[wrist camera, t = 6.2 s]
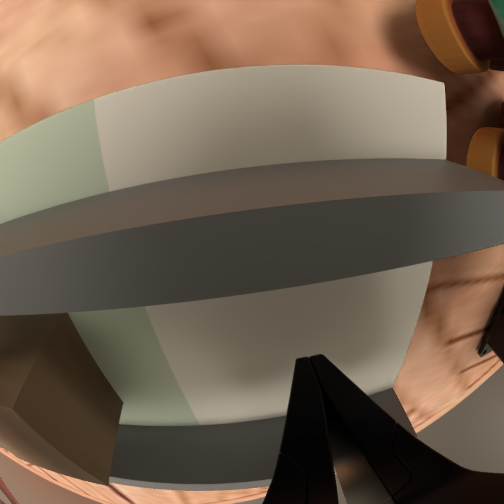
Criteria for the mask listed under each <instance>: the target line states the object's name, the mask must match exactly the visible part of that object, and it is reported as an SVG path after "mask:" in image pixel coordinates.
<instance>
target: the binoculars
mask: <svg viewBox="0 0 504 504" xmlns="http://www.w3.org/2000/svg"><path fill="white" fill-rule="evenodd" d="M415 12H416V18H417V23H418V25H419V28H420V31H421V33H422V35H423V37H424V39H425V41H426V43H427V45H428V46H429V48H430V49H431V51H432V52H433V54H434V55H435V56H436V58H437V59H438V60H439V61H440V62H441V63H442V64H443V65H444V66H445V67H446V68H447V69H449V70H450V71H452V72H454V73H456V74H468V73H480V72H485V71H487V69H488V68H490V69H491V70H499V71H504V0H418V1H417V2H416V6H415ZM502 118H503V126H504V102H502ZM466 166H467V167H469V168H472V169H475V170H478V171H480V172H483V173H485V174H488V175H490V176H493V177H495V178H498V179H500V180H503V181H504V129H502V128H495V127H481V128H480V129H478V130H477V131H476V132H475V133H474V135H473V137H472V139H471V142H470V145H469V148H468V153H467V161H466Z"/></svg>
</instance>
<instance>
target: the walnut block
mask: <svg viewBox="0 0 504 504" xmlns="http://www.w3.org/2000/svg"><path fill="white" fill-rule="evenodd" d="M122 407H123V401H122V400H121V398H120V397H119V396H118V394H117V393H116V392H115V390H114V389H113V387H112V386H111V384H110V383H109V382H108V380H107V379H106V377H105V376H104V374H103V373H102V371H101V370H100V368H99V366H98V365H97V363H96V362H95V360H94V359H93V357H92V355H91V354H90V352H89V350H88V349H87V347H86V345H85V344H84V342H83V340H82V338H81V337H80V335H79V333H78V331H77V329H76V328H75V326H74V324H73V322H72V320H71V318H70V316H69V314H68V313H53V314H34V315H7V316H0V444H1V445H2V446H3V447H5V448H6V449H7V450H8V451H10V452H11V453H12V454H13V455H15V456H16V457H17V458H19V459H22V460H24V461H26V462H29V463H31V464H34V465H37V466H39V467H42V468H45V469H48V470H51V471H54V472H57V473H60V474H63V475H66V476H70V477H73V478H77V479H81V480H84V481H88V482H93V483H97V484H102V485H106V486H108V484H109V477H110V470H111V464H112V458H113V452H114V446H115V441H116V436H117V431H118V426H119V421H120V416H121V411H122Z"/></svg>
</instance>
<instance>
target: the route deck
mask: <svg viewBox="0 0 504 504" xmlns="http://www.w3.org/2000/svg"><path fill="white" fill-rule="evenodd" d="M446 146H447V124H446V100H445V87H444V83H442V82H438V81H434V80H430V79H426V78H421V77H417V76H412V75H407V74H401V73H396V72H389V71H383V70H375V69H367V68H358V67H347V66H333V65H304V64H292V65H262V66H248V67H236V68H227V69H219V70H211V71H204V72H198V73H192V74H186V75H181V76H176V77H171V78H166V79H162V80H157V81H153V82H149V83H145V84H141V85H137V86H134V87H130V88H126V89H123V90H120V91H116V92H113V93H110V94H107V95H104V96H101V97H98V98H95V99H92V100H89V101H87V102H84V103H81V104H79V105H76V106H74V107H71V108H69V109H66V110H64V111H61V112H59V113H57V114H54V115H52V116H50V117H48V118H46V119H43V120H41V121H39V122H37V123H35V124H33V125H31V126H29V127H27V128H25V129H23V130H21V131H19V132H18V133H16V134H14V135H12V136H10V137H9V138H7V139H5V140H3V141H2V142H0V316H7V315H34V314H53V313H68V314H69V316H70V318H71V320H72V322H73V324H74V326H75V328H76V329H77V331H78V333H79V335H80V337H81V338H82V340H83V342H84V344H85V345H86V347H87V349H88V350H89V352H90V354H91V355H92V357H93V359H94V360H95V362H96V363H97V365H98V366H99V368H100V370H101V371H102V373H103V374H104V376H105V377H106V379H107V380H108V382H109V383H110V384H111V386H112V387H113V389H114V390H115V392H116V393H117V394H118V396H119V397H120V398H121V400H122V401H123V407H122V411H121V416H120V421H119V426H118V431H117V436H116V441H115V446H114V452H113V458H112V464H111V470H110V477H109V482H110V483H116V484H122V485H128V486H135V487H144V488H153V489H165V490H186V491H215V490H235V489H248V488H257V487H266V486H270V483H271V481H272V477H273V473H274V470H275V466H276V462H277V457H278V454H279V449H280V444H281V439H282V434H283V429H284V424H285V419H286V413H287V408H288V402H289V397H290V391H291V385H292V379H293V373H294V366H295V360H296V359H297V358H301V357H306V356H307V357H310V356H312V355H317V354H323V355H324V356H325V357H327V358H328V359H329V360H330V361H331V362H332V363H333V364H334V365H335V366H336V367H337V368H338V369H339V370H341V371H342V372H343V373H344V374H345V375H346V376H347V377H348V378H349V379H350V380H351V381H352V382H354V383H355V384H356V385H357V386H358V387H359V388H360V389H361V390H362V391H363V392H365V393H366V394H367V395H368V396H369V397H370V398H371V399H372V400H373V401H375V402H376V403H377V404H378V405H379V406H380V407H381V408H382V409H383V410H385V411H386V412H387V413H388V414H389V415H390V416H391V417H392V418H394V419H395V420H396V423H397V422H398V423H399V424H400V425H402V426H403V427H404V428H405V429H406V430H407V431H409V432H410V433H411V434H412V435H413V436H415V437H417V435H416V433H415V431H414V429H413V427H412V425H411V423H410V421H409V419H408V417H407V415H406V413H405V411H404V409H403V407H402V405H401V403H400V401H399V399H398V397H397V395H396V393H395V391H394V389H393V386H394V383H395V381H396V379H397V376H398V374H399V371H400V369H401V366H402V364H403V361H404V359H405V356H406V353H407V351H408V348H409V345H410V342H411V339H412V337H413V334H414V331H415V327H416V324H417V321H418V318H419V315H420V311H421V308H422V304H423V301H424V297H425V294H426V290H427V286H428V282H429V278H430V273H431V269H432V264H433V261H434V260H439V259H443V258H448V257H452V256H456V255H461V254H465V253H469V252H473V251H477V250H481V249H485V248H489V247H493V246H497V245H501V244H504V181H503V180H500V179H498V178H495V177H493V176H490V175H488V174H485V173H483V172H480V171H478V170H475V169H472V168H469V167H467V166H464V165H461V164H458V163H455V162H452V161H449V160H446ZM0 447H1V448H4V449H6V448H5V447H3V446H2V445H1V444H0ZM6 450H7V449H6ZM334 472H335V473H336V470H335V467H334Z"/></svg>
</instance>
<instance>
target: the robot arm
mask: <svg viewBox="0 0 504 504" xmlns="http://www.w3.org/2000/svg"><path fill="white" fill-rule="evenodd" d="M492 350H493V351H494V353H495V354H496V355H497V356H498V358H499V359H500V360H501V361H502V363H503V364H504V295H503V298H502V300H501V303H500V305H499V308H498V310H497V312H496V315H495V317H494V319H493V321H492V324H491V326H490V328H489V330H488V332H487V334H486V336H485V338H484V340H483V342H482V344H481V346H480V348H479V350H478V355H479V356H480V357H482V356H484V355H486V354H487V353H489V352H491V351H492ZM334 467H335V470H336V473H337V476H338V479H339V482H340V484H341V487H342V490H343V493H344V496H345V499H346V502H347V504H504V473H489V472H479V471H473V470H469V469H466V468H463V467H461V466H459V465H458V464H456V463H454V462H452V461H451V460H449V459H448V458H446V457H444V456H443V455H441V454H439V453H438V452H436V451H435V450H433V449H432V448H430V447H429V446H427V445H425V444H424V443H423V442H421V441H420V440H419V439H417V438H416V437H415V436H413V435H412V434H411V433H410V432H409V431H407V430H406V429H405V428H404V427H403V426H402V425H400V424H399V423H398V422H397V423H396V420H395V419H394V418H392V417H391V416H390V415H389V414H388V413H387V412H386V411H385V410H383V409H382V408H381V407H380V406H379V405H378V404H377V403H376V402H375V401H373V400H372V399H371V398H370V397H369V396H368V395H367V394H366V393H365V392H363V391H362V390H361V389H360V388H359V387H358V386H357V385H356V384H355V383H354V382H352V381H351V380H350V379H349V378H348V377H347V376H346V375H345V374H344V373H343V372H342V371H341V370H339V369H338V368H337V367H336V366H335V365H334V364H333V363H332V362H331V361H330V360H329V359H328V358H327V357H325V356H324V355H323V354H317V355H312V356H310V357H307V356H306V357H301V358H297V359H296V360H295V366H294V373H293V379H292V385H291V391H290V397H289V402H288V408H287V413H286V419H285V424H284V429H283V434H282V439H281V444H280V449H279V454H278V457H277V462H276V466H275V470H274V473H273V477H272V481H271V483H270V486H269V489H268V491H267V494H266V496H265V499H264V501H263V503H262V504H338V495H337V487H336V480H335V472H334Z"/></svg>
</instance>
